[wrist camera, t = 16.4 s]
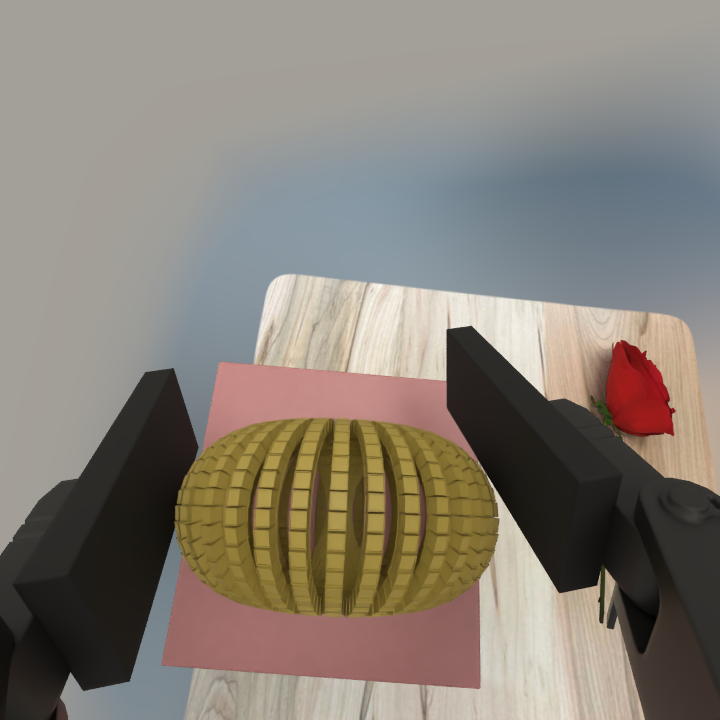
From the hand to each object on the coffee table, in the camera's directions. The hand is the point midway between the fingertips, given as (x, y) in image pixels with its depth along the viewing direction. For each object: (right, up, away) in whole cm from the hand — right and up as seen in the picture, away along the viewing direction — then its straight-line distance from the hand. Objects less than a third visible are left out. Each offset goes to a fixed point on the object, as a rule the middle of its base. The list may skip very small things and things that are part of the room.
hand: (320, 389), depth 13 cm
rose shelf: (0, -5, +3) cm, 6 cm away
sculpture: (0, -4, +3) cm, 5 cm away
